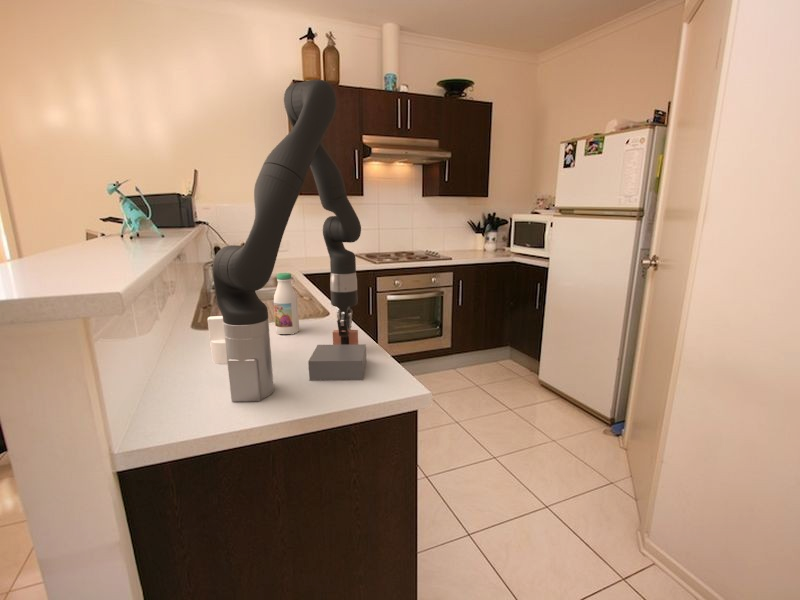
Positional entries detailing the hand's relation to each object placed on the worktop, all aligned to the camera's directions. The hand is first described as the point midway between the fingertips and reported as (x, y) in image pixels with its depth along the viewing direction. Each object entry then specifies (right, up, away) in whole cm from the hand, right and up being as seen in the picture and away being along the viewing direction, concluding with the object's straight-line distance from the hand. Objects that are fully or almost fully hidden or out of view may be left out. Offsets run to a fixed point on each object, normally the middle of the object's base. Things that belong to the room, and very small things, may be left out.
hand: (345, 346), depth 118 cm
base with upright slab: (-32, -3, -5) cm, 32 cm away
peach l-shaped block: (0, -3, -9) cm, 9 cm away
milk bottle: (-22, +2, +19) cm, 29 cm away
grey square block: (0, -5, -14) cm, 14 cm away
